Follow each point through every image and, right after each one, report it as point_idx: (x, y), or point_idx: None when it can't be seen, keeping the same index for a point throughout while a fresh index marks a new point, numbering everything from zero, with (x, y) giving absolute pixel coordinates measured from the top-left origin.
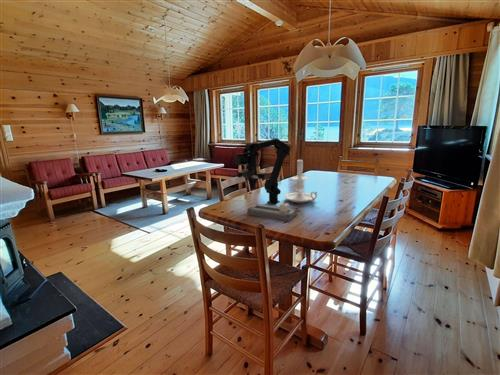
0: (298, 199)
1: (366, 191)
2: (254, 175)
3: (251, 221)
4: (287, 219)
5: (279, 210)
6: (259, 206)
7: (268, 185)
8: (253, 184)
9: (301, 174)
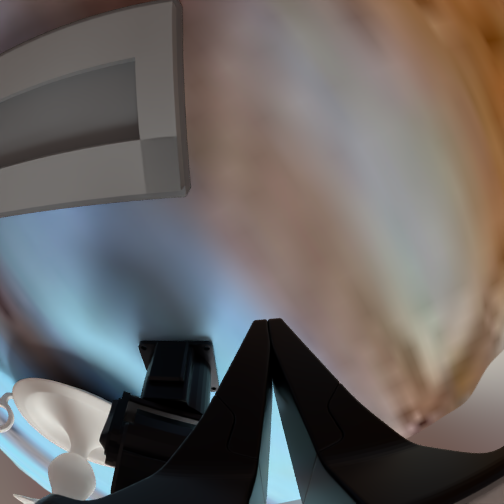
0: (64, 406)
1: (49, 481)
2: None
3: None
4: None
5: None
6: (115, 142)
7: (153, 464)
8: (221, 385)
9: None
